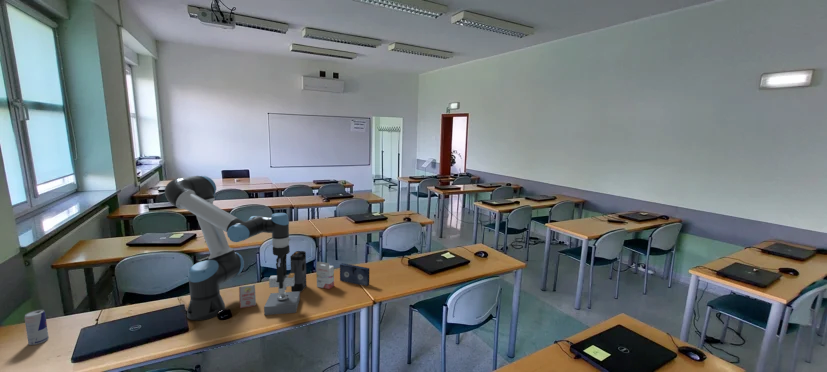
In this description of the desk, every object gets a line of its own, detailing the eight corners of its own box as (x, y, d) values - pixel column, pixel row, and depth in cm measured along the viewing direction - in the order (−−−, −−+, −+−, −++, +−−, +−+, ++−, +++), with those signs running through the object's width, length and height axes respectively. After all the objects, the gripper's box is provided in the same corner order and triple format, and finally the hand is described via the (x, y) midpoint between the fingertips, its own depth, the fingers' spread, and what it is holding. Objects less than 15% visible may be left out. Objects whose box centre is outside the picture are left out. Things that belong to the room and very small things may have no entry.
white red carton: (240, 304, 163) (239, 285, 162) (255, 302, 166) (254, 283, 165) (239, 308, 160) (238, 288, 159) (255, 305, 163) (254, 286, 161)
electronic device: (301, 292, 177) (300, 256, 174) (290, 292, 177) (289, 256, 175) (307, 285, 186) (306, 250, 184) (296, 284, 187) (295, 250, 184)
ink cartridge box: (334, 285, 187) (334, 260, 185) (329, 289, 182) (329, 263, 180) (321, 283, 189) (320, 258, 187) (316, 287, 185) (315, 261, 182)
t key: (269, 301, 158) (268, 278, 157) (271, 296, 163) (271, 274, 162) (293, 299, 161) (293, 276, 159) (295, 294, 165) (294, 272, 164)
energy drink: (52, 337, 134) (48, 309, 132) (38, 345, 129) (34, 316, 127) (39, 337, 134) (35, 309, 132) (24, 345, 128) (19, 316, 127)
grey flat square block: (264, 315, 154) (264, 306, 154) (271, 300, 168) (270, 292, 167) (295, 312, 157) (295, 304, 156) (299, 298, 171) (299, 291, 170)
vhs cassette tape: (369, 284, 189) (369, 267, 188) (367, 286, 187) (367, 269, 185) (342, 278, 196) (342, 262, 195) (339, 280, 193) (339, 264, 192)
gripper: (286, 250, 151) (287, 299, 154) (292, 240, 167) (293, 284, 170) (268, 251, 149) (270, 300, 153) (276, 240, 166) (277, 285, 169)
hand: (282, 291), depth 161 cm, fingers closed on t key, 4 cm apart
